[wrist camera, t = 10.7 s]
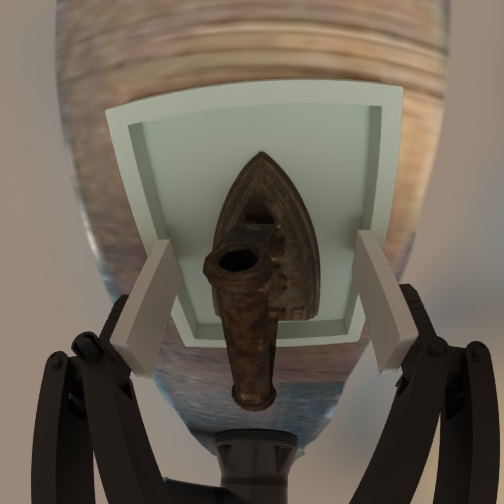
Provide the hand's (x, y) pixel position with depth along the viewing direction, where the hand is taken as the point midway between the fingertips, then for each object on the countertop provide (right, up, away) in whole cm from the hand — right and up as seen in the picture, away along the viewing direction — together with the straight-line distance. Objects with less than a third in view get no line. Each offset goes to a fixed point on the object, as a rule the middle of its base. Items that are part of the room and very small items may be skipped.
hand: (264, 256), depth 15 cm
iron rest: (0, +2, +2) cm, 3 cm away
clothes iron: (0, +1, +2) cm, 2 cm away
